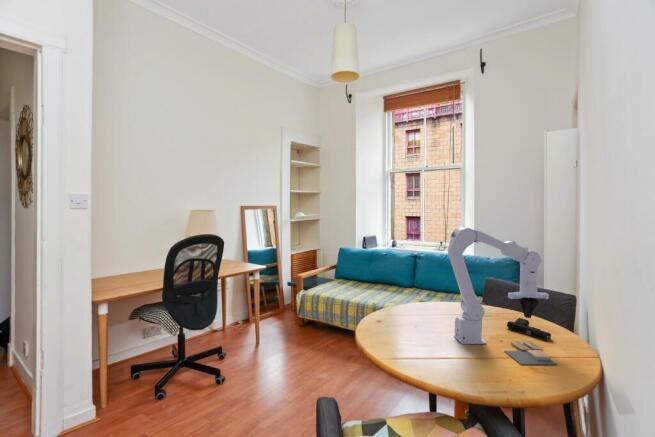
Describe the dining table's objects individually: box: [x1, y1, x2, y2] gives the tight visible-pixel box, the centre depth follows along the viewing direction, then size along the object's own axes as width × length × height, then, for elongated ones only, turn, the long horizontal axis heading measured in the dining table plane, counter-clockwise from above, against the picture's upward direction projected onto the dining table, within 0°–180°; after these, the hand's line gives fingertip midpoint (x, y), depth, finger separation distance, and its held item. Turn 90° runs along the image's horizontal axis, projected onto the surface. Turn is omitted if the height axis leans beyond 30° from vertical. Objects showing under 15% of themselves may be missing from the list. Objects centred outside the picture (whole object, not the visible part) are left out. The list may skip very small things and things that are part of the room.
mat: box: [503, 350, 558, 366], centre depth 115 cm, size 12×10×1 cm
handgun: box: [506, 317, 552, 342], centre depth 139 cm, size 3×17×12 cm
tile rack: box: [510, 340, 544, 352], centre depth 123 cm, size 8×7×1 cm
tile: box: [527, 349, 552, 360], centre depth 115 cm, size 1×5×5 cm
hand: (527, 317), depth 127 cm, fingers closed
